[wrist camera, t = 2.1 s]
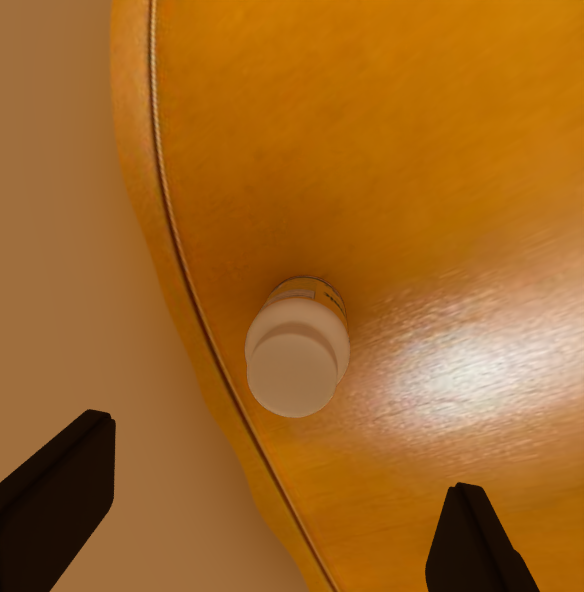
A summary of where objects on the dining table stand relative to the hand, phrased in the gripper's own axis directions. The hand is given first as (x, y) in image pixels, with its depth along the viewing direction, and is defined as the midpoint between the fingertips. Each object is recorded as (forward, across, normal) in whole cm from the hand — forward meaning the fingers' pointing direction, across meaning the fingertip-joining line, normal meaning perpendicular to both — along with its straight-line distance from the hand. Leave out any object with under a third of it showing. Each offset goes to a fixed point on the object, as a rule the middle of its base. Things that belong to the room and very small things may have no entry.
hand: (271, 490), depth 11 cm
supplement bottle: (+16, 0, 0) cm, 16 cm away
